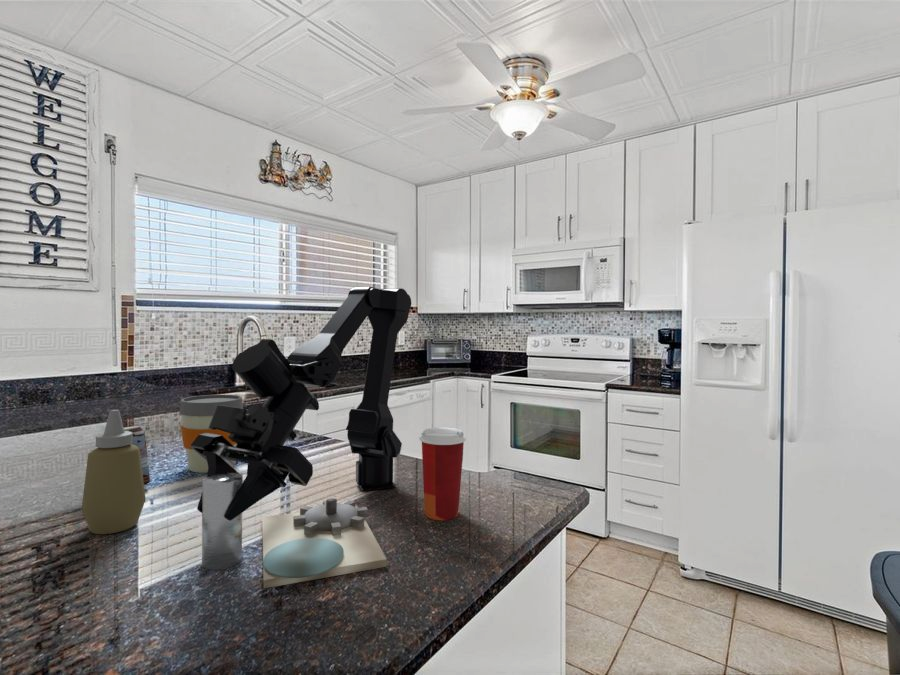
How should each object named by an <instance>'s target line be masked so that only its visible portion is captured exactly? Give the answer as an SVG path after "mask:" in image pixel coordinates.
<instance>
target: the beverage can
mask: <svg viewBox="0 0 900 675" xmlns="http://www.w3.org/2000/svg"><path fill="white" fill-rule="evenodd" d="M124 431H129V432H132V433H133V443H131V444H132V445H136V446H137V447H139V449H140V456H141V464H142V473H143V481H144V488H146V487H147V485H148V484H149V483H150V482H151V475H150V468H149V458H148V449H147V448H148V446H147V438H146V432H145V431H144V430H143V428H142V426H141V425H134V426H133V425H132V426H126V427H124Z"/></svg>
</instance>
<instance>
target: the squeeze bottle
mask: <svg viewBox="0 0 900 675" xmlns="http://www.w3.org/2000/svg"><path fill="white" fill-rule="evenodd" d="M124 428H125V427H124V424H123V421H122V416H121V413H120V409H110V410H109V413H108V416H107V420H106V425H105V427H104V431H103V433H99V434H97V435H95V447H96V448H94V449H91V451H89V452H88V454H87V461H86V470H85V478H84V487H83V493H82V504H81V512H82V515H83V517H84V520H85V522H86V524H87V527H88V528H89V531H90V533H92V534H95V535H108V534H115V533H120V532H123V531H127V530H129V529H131V528H133V527H135V526H136V525H137V524H138V523H139V520H140V516H141V513H142V511H143V509H144V506H145V503H146V500H147V499H146V490H145V487H144V481H143V473H142V464H141V456H140V449H139V447H137V446H136V445H132V444H131V443H133V433H132V432H129V431H124Z"/></svg>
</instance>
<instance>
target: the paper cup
mask: <svg viewBox="0 0 900 675" xmlns="http://www.w3.org/2000/svg"><path fill="white" fill-rule="evenodd" d="M418 440H419V441H420V442H421V456H422V457H421V460H422V480H423V481H422V482H423V484H422V485H423V500H424V501H423V504H424V516H425V517H426V518H427V519H430V520H433V521H441V522H443V521H445V522H446V521H451V520H453V519H456V518H457V517H458V515H459V508H460V494H461V485H462V484H461V482H462V473H463V472H462V470H463V460H464V443H465V441H466V437H465V436H464V432H463V430H461V429H459V428H455V427H454V428H453V427H444V426H442V427H441V426H440V427H430V428H425V429H424V430H423V431H422V432H421V436H419V437H418Z"/></svg>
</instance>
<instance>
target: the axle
mask: <svg viewBox="0 0 900 675" xmlns="http://www.w3.org/2000/svg"><path fill="white" fill-rule="evenodd" d="M243 476H244V475H243V474H241V473H239V474H237V473H222V474H216V475H212V476H208V477H207V476H206V477H205V478H203V479H202V481H201V484H202V485H201V487H202V491H201V494H202V513H201V516H202V517H201V567H202V568H203V569H204V570H209V571H220V570H225V569H228V568H231V567H234V566H236V565H237V564H239V563H241V561H242V559H243V512H242V513H241V514H239V515H238V516H237V517H235V518H234V519H232V520H231V521H229V520H227V519H226V518H225V517H224V515H225V513H226V511H227V509H228V507H229V505H230V503H231V502H232V500H233V498H234V497H235V495H236V493H237V492H238V490H239V488H240V487H241V485H242V483H243V482H244V481H243Z"/></svg>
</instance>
